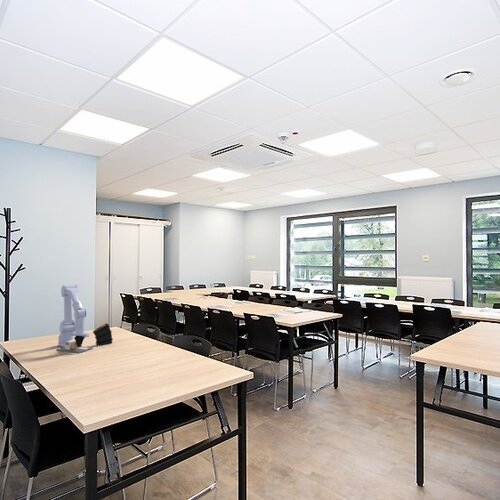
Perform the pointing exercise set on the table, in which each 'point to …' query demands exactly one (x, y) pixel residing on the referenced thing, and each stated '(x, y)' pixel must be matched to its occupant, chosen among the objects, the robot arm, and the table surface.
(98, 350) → the table surface
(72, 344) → the block with grey knob
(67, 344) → the block
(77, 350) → the din rail
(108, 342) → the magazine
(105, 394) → the table surface
